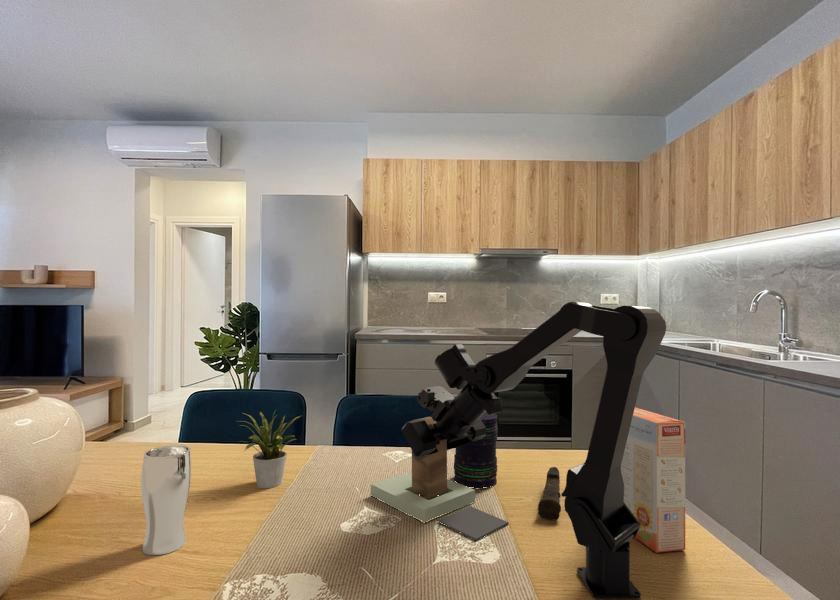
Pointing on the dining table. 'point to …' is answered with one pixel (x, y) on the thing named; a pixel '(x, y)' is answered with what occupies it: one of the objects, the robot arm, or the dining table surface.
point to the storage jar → (478, 457)
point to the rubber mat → (473, 522)
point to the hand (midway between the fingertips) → (424, 454)
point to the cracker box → (656, 479)
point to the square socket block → (406, 500)
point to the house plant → (269, 452)
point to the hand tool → (551, 496)
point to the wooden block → (430, 469)
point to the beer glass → (165, 497)
